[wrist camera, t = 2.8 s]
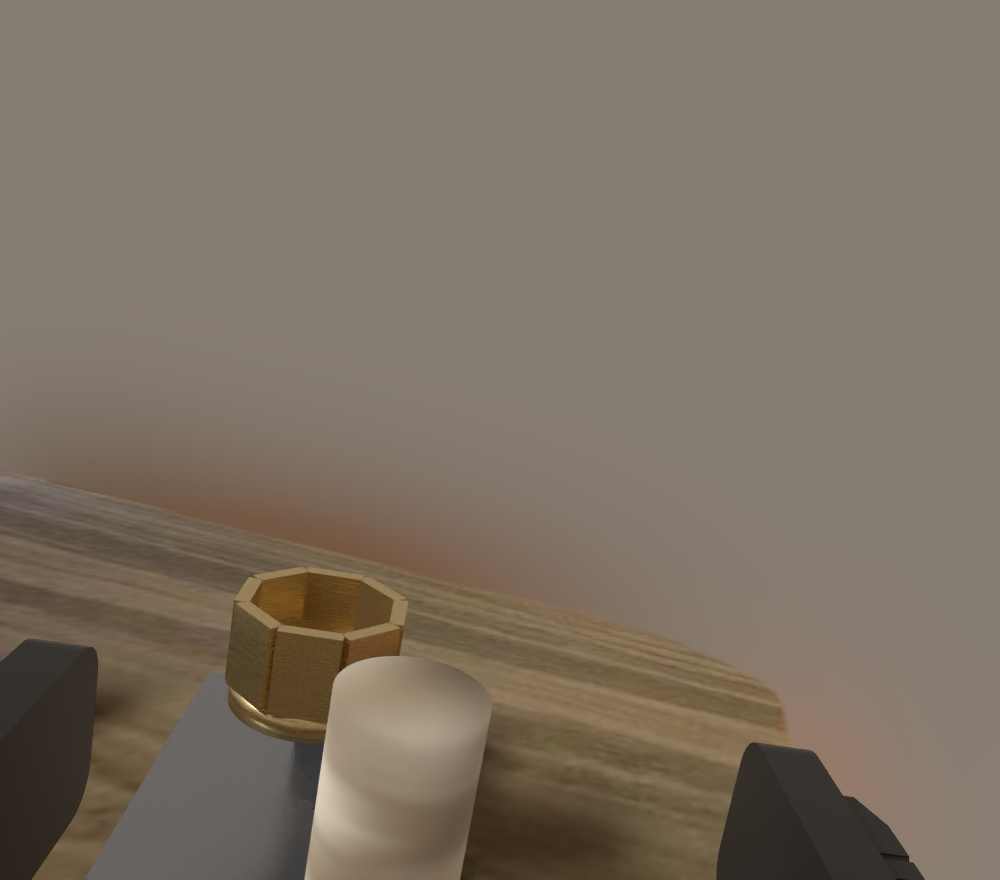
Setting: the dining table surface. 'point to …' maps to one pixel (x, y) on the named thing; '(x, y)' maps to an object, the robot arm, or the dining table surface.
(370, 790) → the cylindrical post
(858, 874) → the robot arm
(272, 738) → the cup bracket
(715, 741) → the dining table surface
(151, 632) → the dining table surface
